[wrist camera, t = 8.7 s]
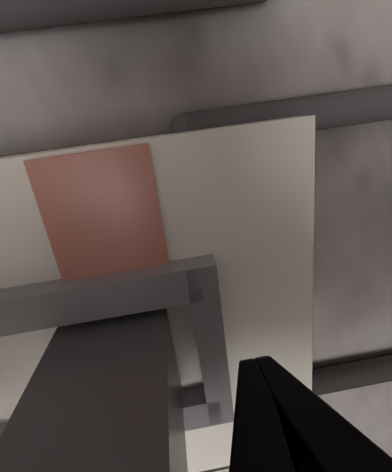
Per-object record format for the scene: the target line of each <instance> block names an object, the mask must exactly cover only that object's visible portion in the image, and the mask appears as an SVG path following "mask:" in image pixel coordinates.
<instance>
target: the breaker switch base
mask: <svg viewBox="0 0 392 472" xmlns="http://www.w3.org/2000/svg"><path fill="white" fill-rule="evenodd" d="M314 187H315V115H310V116H297V117H287V118H280V119H273V120H266V121H259V122H252V123H245V124H237V125H230V126H223V127H216V128H209V129H202V130H195V131H187V132H180V133H171V134H170V133H168V134H161V135H154V136H146V137H139V138H132V139H125V140H118V141H111V142H104V143H96V144H89V145H82V146H75V147H68V148H61V149H54V150H46V151H39V152H32V153H25V154H18V155H11V156H4V157H0V436H1V434H2V432H3V430H4V428H5V426H6V424H7V422H8V420H9V419H10V417H11V415H12V413H13V411H14V409H15V407H16V405H17V403H18V401H19V399H20V398H21V396H22V394H23V392H24V390H25V388H26V386H27V384H28V382H29V380H30V378H31V376H32V375H33V373H34V371H35V369H36V367H37V365H38V363H39V361H40V359H41V357H42V355H43V354H44V352H45V350H46V348H47V346H48V344H49V342H50V340H51V338H52V336H53V334H54V333H55V331H56V329H57V327H60V326H66V325H72V324H77V323H83V322H89V321H95V320H101V319H106V318H112V317H118V316H124V315H129V314H135V313H141V312H147V311H153V310H158V309H164V308H166V309H167V314H168V319H169V324H170V329H171V334H172V339H173V345H174V350H175V355H176V360H177V365H178V370H179V375H180V380H181V387H182V401H183V414H184V427H185V440H186V454H187V467H188V472H201V471H206V470H211V469H216V468H221V467H226V466H230V455H231V444H232V433H233V422H234V411H235V400H236V389H237V378H238V367H239V361H240V360H245V359H250V358H254V359H255V358H256V357H261V356H267V355H268V356H271V357H272V358H273V359H274V360H275V361H277V362H278V363H279V364H280V365H281V366H283V367H284V368H285V369H286V370H287V371H289V372H290V373H291V374H292V375H293V376H295V377H296V378H297V379H298V380H299V381H301V382H302V383H303V384H304V385H305V386H307V387H308V388H309V389H310V390H311V391H312V349H313V268H314Z"/></svg>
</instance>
